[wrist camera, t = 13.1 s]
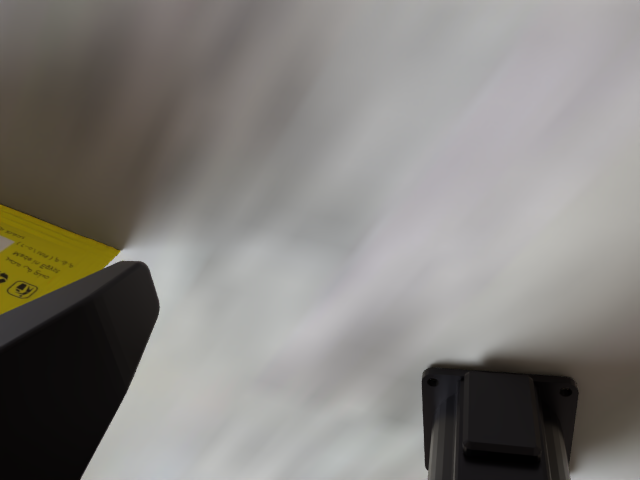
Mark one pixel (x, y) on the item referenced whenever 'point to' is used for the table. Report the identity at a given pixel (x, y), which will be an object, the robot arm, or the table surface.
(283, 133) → the table surface
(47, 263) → the food package
